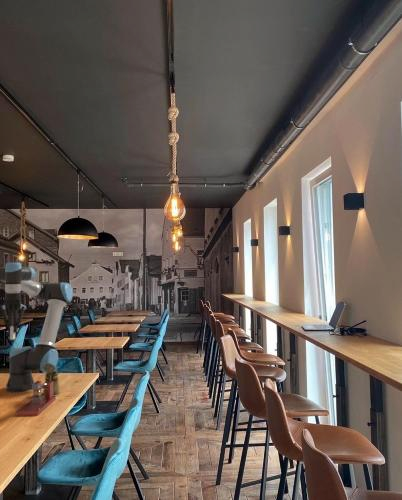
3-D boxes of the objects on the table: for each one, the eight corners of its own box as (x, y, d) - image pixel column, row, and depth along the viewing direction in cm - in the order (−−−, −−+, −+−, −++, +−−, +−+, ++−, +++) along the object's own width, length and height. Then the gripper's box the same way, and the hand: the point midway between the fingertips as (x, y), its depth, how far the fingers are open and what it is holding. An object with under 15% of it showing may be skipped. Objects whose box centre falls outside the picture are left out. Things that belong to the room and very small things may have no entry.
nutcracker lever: (39, 388, 219) (40, 383, 220) (48, 388, 219) (48, 383, 220) (22, 389, 197) (22, 384, 198) (31, 389, 197) (32, 384, 198)
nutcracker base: (36, 400, 222) (36, 380, 222) (55, 399, 222) (55, 380, 223) (16, 415, 197) (16, 393, 197) (38, 415, 197) (38, 393, 198)
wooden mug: (39, 398, 225) (39, 363, 226) (44, 391, 238) (45, 358, 239) (56, 397, 226) (56, 363, 227) (61, 390, 239) (61, 358, 240)
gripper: (-4, 293, 215) (-4, 340, 214) (22, 292, 215) (22, 340, 214) (3, 292, 223) (3, 338, 221) (28, 292, 223) (28, 337, 221)
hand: (12, 339), depth 218 cm, fingers closed
